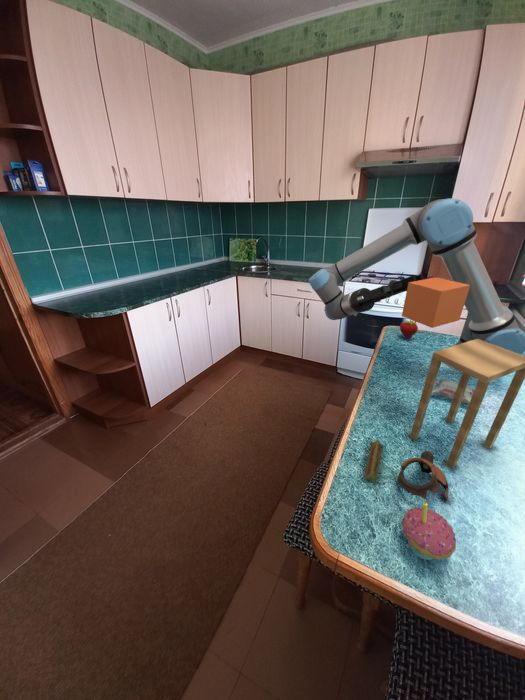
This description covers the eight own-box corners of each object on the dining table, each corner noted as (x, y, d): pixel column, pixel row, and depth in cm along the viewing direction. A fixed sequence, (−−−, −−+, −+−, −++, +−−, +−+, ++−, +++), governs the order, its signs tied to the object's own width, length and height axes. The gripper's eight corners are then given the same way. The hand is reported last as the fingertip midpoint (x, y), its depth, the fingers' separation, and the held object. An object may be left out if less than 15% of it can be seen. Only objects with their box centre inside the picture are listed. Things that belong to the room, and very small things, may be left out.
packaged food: (471, 412, 87) (476, 398, 85) (428, 397, 94) (432, 384, 92) (475, 399, 93) (480, 386, 91) (434, 385, 100) (438, 373, 98)
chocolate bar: (381, 447, 76) (383, 440, 74) (375, 483, 66) (377, 476, 65) (371, 444, 77) (372, 437, 76) (364, 479, 67) (365, 472, 66)
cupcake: (398, 560, 52) (412, 518, 46) (396, 517, 59) (409, 476, 53) (452, 579, 49) (475, 538, 44) (444, 531, 56) (463, 490, 51)
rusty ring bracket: (453, 516, 59) (442, 494, 56) (404, 509, 65) (391, 489, 62) (451, 463, 67) (441, 442, 64) (407, 461, 73) (396, 441, 70)
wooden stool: (448, 419, 85) (477, 338, 73) (492, 446, 75) (533, 359, 63) (409, 436, 79) (433, 352, 67) (451, 469, 69) (488, 377, 57)
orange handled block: (398, 299, 88) (404, 270, 84) (459, 320, 73) (470, 285, 69) (373, 305, 85) (378, 274, 80) (432, 328, 69) (441, 291, 65)
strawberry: (399, 334, 138) (404, 314, 133) (416, 338, 133) (421, 318, 129) (395, 338, 134) (399, 318, 129) (412, 342, 129) (418, 321, 125)
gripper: (377, 309, 100) (441, 289, 78) (342, 316, 94) (401, 297, 72) (372, 287, 100) (435, 262, 78) (337, 294, 94) (394, 268, 72)
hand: (418, 279), depth 75 cm, fingers closed on orange handled block, 2 cm apart
